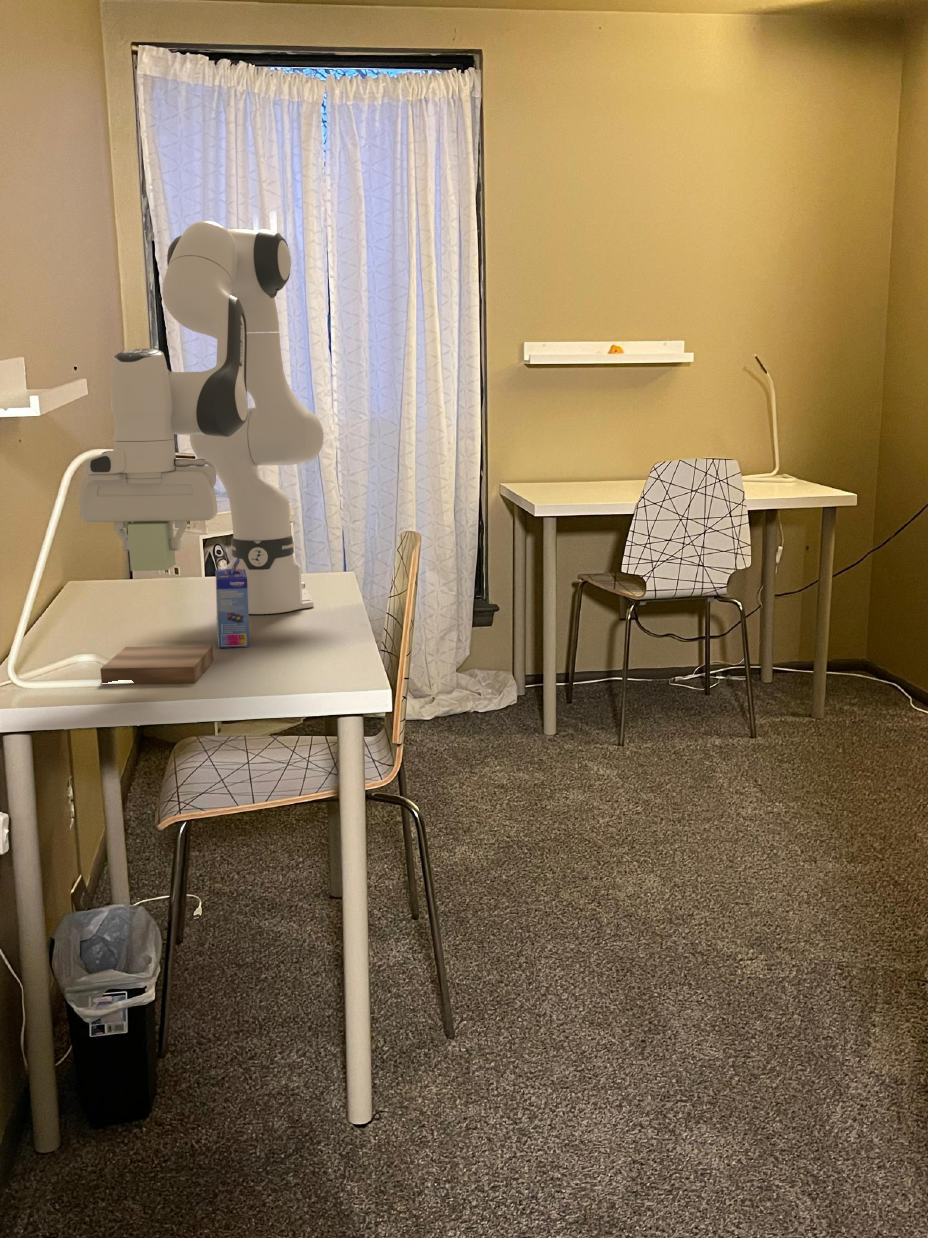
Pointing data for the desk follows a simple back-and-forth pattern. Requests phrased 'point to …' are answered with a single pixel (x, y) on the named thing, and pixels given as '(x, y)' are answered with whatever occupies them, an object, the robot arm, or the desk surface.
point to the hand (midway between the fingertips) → (152, 550)
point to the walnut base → (158, 664)
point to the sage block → (150, 545)
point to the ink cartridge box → (232, 607)
